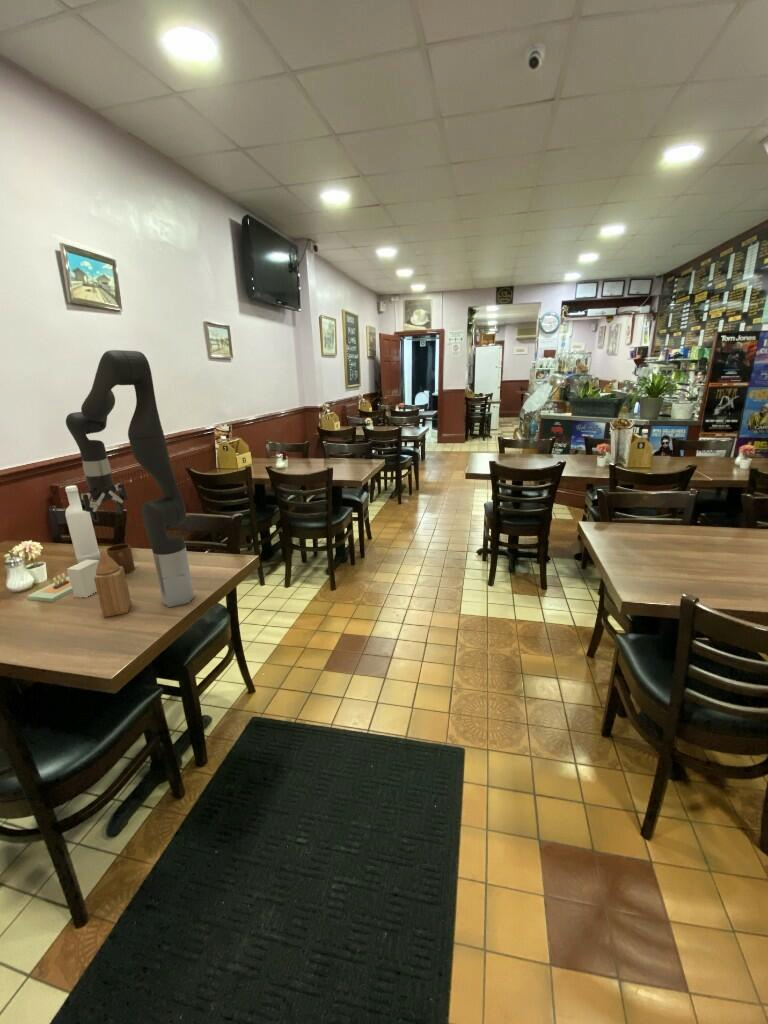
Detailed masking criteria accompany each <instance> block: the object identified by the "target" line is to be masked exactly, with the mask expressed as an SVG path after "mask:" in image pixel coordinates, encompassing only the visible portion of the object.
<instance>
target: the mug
mask: <svg viewBox="0 0 768 1024" xmlns="http://www.w3.org/2000/svg"><path fill="white" fill-rule="evenodd" d="M106 553H107V554H108V555H109V556H110V557H111V558H112V559H113V560H114V561H115V562H116V563H117V564H118V565H119V566H123V568H124V572H125V573H126V574H128V573H127V572H129V573H131V572H133V571H134V570H135V567H136V566H135V561H134V556H133V552H132V549H131V545H130V544H128V543H119V544H114V545H111V546H109V547H108V548H106ZM133 569H134V570H133ZM132 570H133V571H132ZM130 571H131V572H130Z"/></svg>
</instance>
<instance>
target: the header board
mask: <svg viewBox="0 0 768 1024" xmlns="http://www.w3.org/2000/svg"><path fill="white" fill-rule="evenodd" d="M52 579H53V582H52V583H51V584H49V585H46V586H44V587H43V588H42V587H41V588H40V589H39V590H37V591H35V592H33V593H30V594H28V595H26V597H27V598H26V599H27V600H29V601H30V600H31V601H39V602H40V601H41V602H49V603H50V602H51V603H54V602H56V601H58V600H59V599H60V598H62V597H65V596H66V595H69V594H70V593H73V590H72V587H71V583H70V579H69V576H68V575H67V576H66V574H65V573H61V575H60V574H58V575H57V576H56V577H53V578H52Z"/></svg>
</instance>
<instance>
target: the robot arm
mask: <svg viewBox="0 0 768 1024" xmlns="http://www.w3.org/2000/svg"><path fill="white" fill-rule="evenodd" d="M151 369H152V368H151V366H150V363H149V360H148V358H147V357H146V356H145V354H144V353H143V352H141V351H138V350H122V349H120V350H119V349H118V350H117V349H112V350H111V349H110V350H106V351H105V352H104V353H103V354H102V355H101V358H100V360H99V362H98V365H97V368H96V371H95V376H94V379H93V383H92V386H91V390H90V391H89V393H88V395H87V396H86V398H85V399H84V401H83V402H82V404H81V407H80V409H81V411H77V412H71V413H69V414H68V415H67V416H66V419H65V424H66V427H67V430H68V431H69V433H70V434H71V436H72V438H73V439H74V441H75V443H76V445H77V447H78V449H79V453H80V456H81V461H82V469H83V473H84V476H85V480H86V485H87V487H88V489H89V490H88V492H87V493H79V497H80V502H81V506H82V510H83V511H87V512H90V515H91V520H92V521H94V522H96V523H98V522H100V518H99V514H98V511H97V510H98V508H99V506H100V505H101V503H105V502H107V501H111V500H113V501H114V502H115V504H114V505H115V508H116V513H118V514H124V510H125V509H124V505H123V502H124V501H127V500H128V496H127V495H128V494H127V492H126V489H125V485H124V484H123V483H119V482H117V483H116V484H115V483H114V477H113V472H112V469H111V464H110V461H109V459H108V454H107V450H106V446H105V443H104V442H103V441H102V440H99V439H89V438H88V436H87V435H90V434H96V433H97V434H98V433H100V432H103V431H104V430H105V429H106V428H107V422H108V416H109V415H110V413H111V412H112V410H113V409H114V407H115V406H116V405H115V404H116V397H115V393H114V392H113V391H112V390H113V388H115V387H116V386H133V388H134V391H135V398H136V402H135V409H134V411H133V414H132V417H131V420H130V422H129V426H128V431H127V436H128V437H127V438H128V442H129V445H130V449H131V453H132V456H133V457H134V459H135V461H136V462H137V463H138V464H139V465H140V466H141V467H142V468H143V469H144V470H145V471H146V472H147V473H149V474H150V475H151V476H152V478H153V479H154V480H155V481H156V482H157V484H158V486H159V488H160V490H161V493H162V497H161V498H157V499H152V500H149V501H146V502H144V503H143V504H142V507H141V515H142V519H143V525H144V527H145V531H146V535H147V540H148V542H149V543H148V544H149V545H150V547H151V551H152V556H153V561H154V566H155V572H156V575H157V581H158V586H159V590H160V596H161V600H162V604H163V605H164V606H167V608H171V607H177V606H181V605H185V604H190V602H191V601H192V600H193V599H194V598H195V592H194V587H193V581H192V575H191V569H190V564H189V558H188V553H187V552H188V551H187V547H186V542H185V538H184V537H183V536H180V535H168V534H167V529H170V528H173V527H176V526H180V525H182V524H183V523H185V521H186V517H187V511H186V507H185V503H184V499H183V497H182V495H181V492H180V489H179V486H178V483H177V480H176V478H175V473H174V470H173V467H172V462H171V458H170V455H169V450H168V449H169V448H168V446H167V442H166V441H167V440H166V437H165V433H164V430H163V426H162V423H161V419H160V415H159V411H158V406H157V401H156V395H155V388H154V380H153V375H152V370H151ZM116 491H117V493H118V495H117V494H116V493H115V492H116ZM90 498H91V499H90Z"/></svg>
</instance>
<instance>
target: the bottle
mask: <svg viewBox="0 0 768 1024" xmlns="http://www.w3.org/2000/svg"><path fill="white" fill-rule="evenodd" d="M64 489H65V493H66V495H67V496H66V497H67V499H68V504H69V505H68V507H66V509H65V514H64V515H65V519H66V523H67V527H68V531H69V535H70V537H71V542H72V545H73V546H72V547H73V550H74V553H75V554H74V555H75V559H76V561H77V564H78V563H80V562H83V561H85V560H98V559H99V560H100V558H101V552H100V550H99V546H98V541H97V537H96V533H95V528H94V524H93V520H92V519H91V515H90V512H87V511H83V510H82V506H81V500H80V493H79V488H78V485H67V486H66V487H65V488H64Z"/></svg>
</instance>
